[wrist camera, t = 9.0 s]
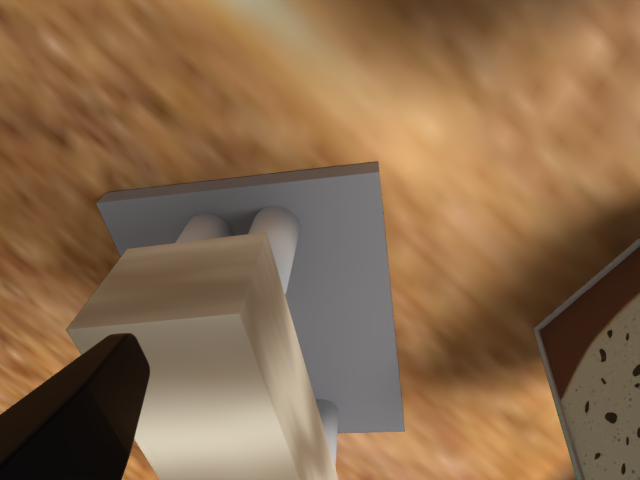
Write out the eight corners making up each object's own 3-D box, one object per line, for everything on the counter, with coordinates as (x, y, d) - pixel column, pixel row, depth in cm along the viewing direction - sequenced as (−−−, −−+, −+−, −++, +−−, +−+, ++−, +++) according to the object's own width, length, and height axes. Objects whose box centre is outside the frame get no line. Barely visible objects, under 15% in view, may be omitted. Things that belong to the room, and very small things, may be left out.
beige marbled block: (344, 501, 24) (341, 594, 20) (249, 503, 25) (231, 592, 21) (266, 231, 16) (239, 313, 12) (127, 248, 16) (66, 329, 13)
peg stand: (378, 161, 19) (381, 224, 15) (403, 416, 28) (410, 502, 23) (106, 192, 21) (42, 256, 17) (207, 422, 29) (181, 503, 25)
